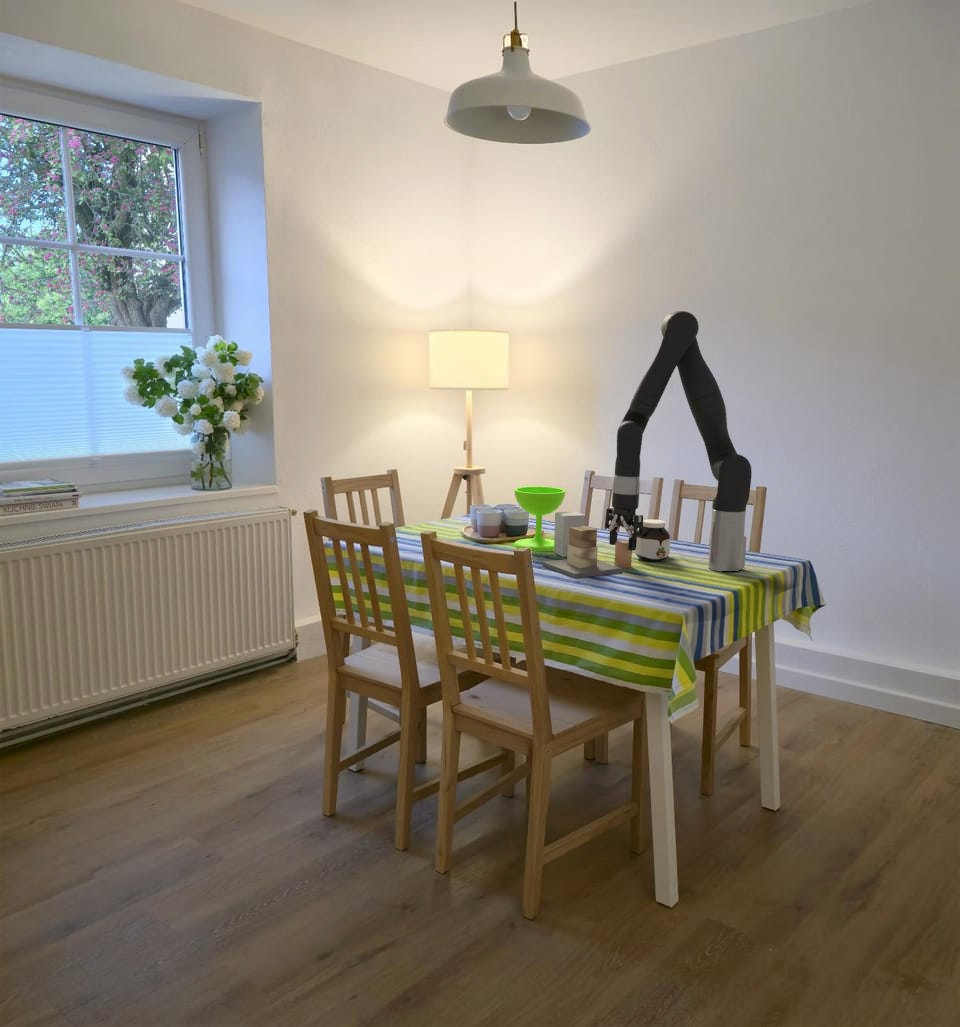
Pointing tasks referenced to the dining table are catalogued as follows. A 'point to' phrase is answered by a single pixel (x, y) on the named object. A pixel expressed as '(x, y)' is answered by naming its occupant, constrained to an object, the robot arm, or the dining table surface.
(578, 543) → the tower top block
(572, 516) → the supplement box
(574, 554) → the tower base block
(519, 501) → the wineglass
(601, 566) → the charcoal board
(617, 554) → the tan rounded cylinder
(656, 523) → the spread jar
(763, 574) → the dining table surface
